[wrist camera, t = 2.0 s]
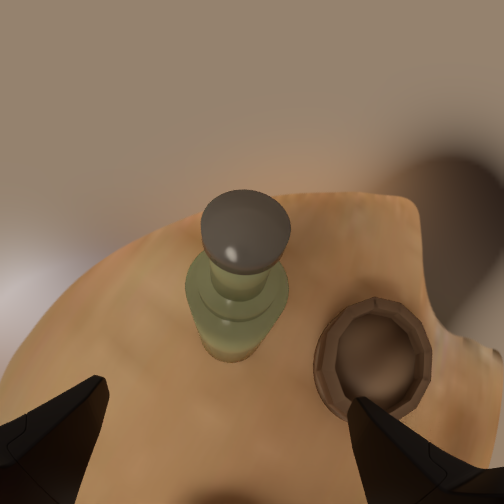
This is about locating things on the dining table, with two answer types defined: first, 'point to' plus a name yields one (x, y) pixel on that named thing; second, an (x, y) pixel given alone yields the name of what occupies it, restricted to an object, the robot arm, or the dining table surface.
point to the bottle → (239, 273)
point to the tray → (373, 358)
